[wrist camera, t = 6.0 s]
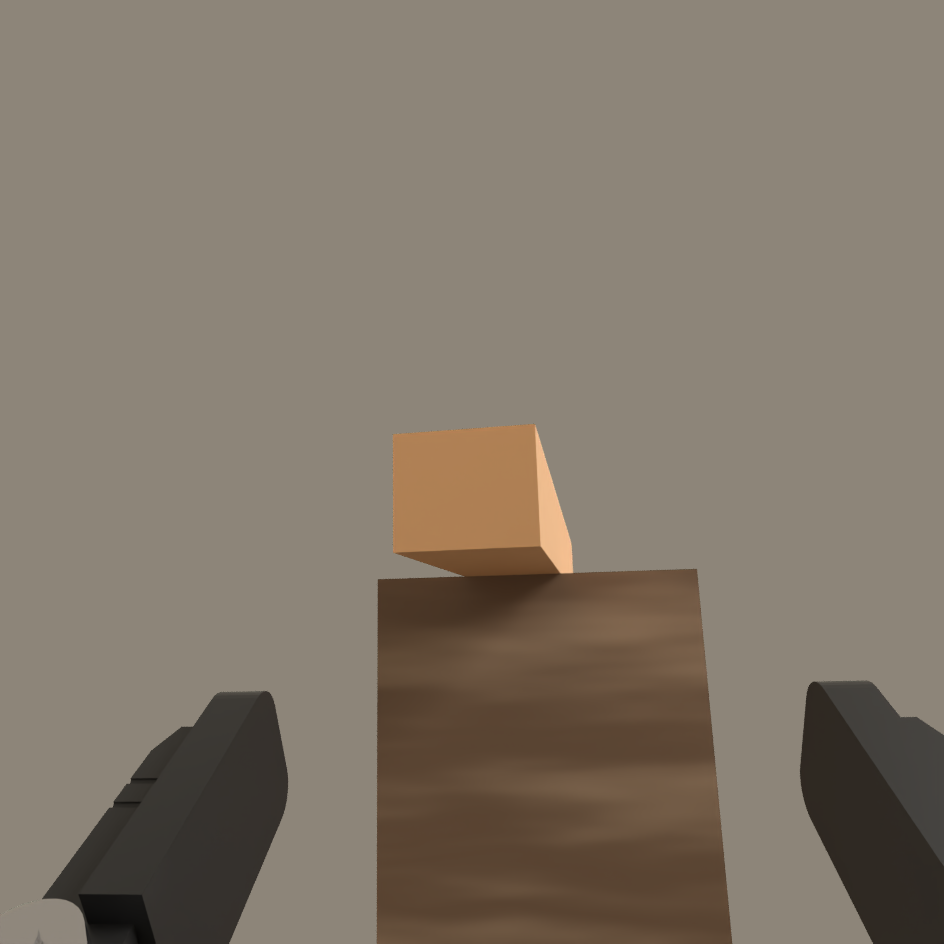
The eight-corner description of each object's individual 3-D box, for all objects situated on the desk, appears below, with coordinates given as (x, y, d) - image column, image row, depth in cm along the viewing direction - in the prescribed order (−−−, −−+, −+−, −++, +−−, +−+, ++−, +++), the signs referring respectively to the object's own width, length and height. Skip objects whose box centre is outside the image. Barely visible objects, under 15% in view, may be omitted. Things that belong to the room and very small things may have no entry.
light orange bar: (540, 546, 16) (535, 423, 17) (393, 552, 17) (392, 434, 18) (574, 591, 43) (571, 543, 44) (516, 593, 44) (515, 546, 45)
